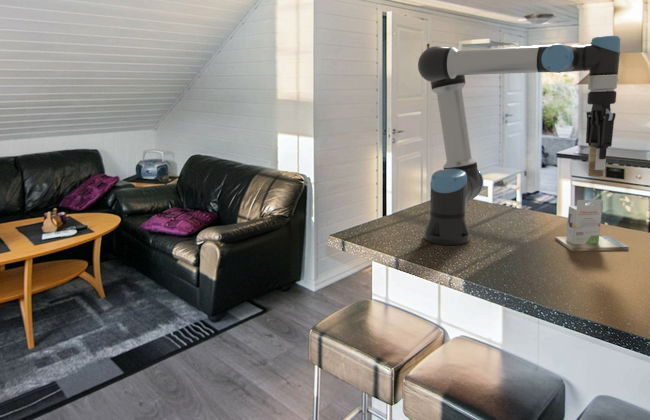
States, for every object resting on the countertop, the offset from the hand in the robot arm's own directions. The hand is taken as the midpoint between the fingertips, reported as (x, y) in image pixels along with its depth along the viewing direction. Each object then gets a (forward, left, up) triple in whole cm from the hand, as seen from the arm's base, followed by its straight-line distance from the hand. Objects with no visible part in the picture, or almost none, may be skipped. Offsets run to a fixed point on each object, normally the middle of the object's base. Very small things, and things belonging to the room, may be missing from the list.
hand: (596, 168), depth 159 cm
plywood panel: (+3, +3, -26) cm, 26 cm away
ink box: (-1, +3, -25) cm, 25 cm away
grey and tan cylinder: (0, 0, -2) cm, 2 cm away
